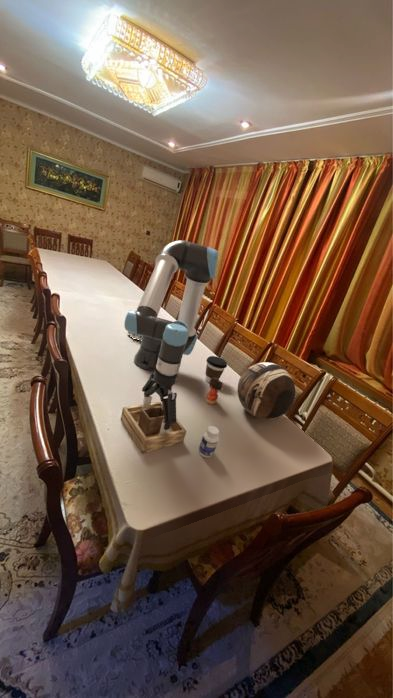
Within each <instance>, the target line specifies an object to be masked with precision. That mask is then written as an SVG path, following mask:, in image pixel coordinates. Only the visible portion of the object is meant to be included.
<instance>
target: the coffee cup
mask: <svg viewBox="0 0 393 698" xmlns="http://www.w3.org/2000/svg"><path fill="white" fill-rule="evenodd" d="M227 367H228V364H227V361H226V360H225V359H224V358H222V357H220V356H214V355H211V356H208V357H207V358H206V368H205V377H204V379H205V381H206V382H208V384H210V380H211V379H212V378H213V377H216V378H218V379H219V380H220V379H221V376H222V375H223V373H224V371H225V369H226V368H227Z"/></svg>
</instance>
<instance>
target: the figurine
mask: <svg viewBox="0 0 393 698" xmlns="http://www.w3.org/2000/svg"><path fill="white" fill-rule="evenodd" d="M222 389H223V381H221V380H220V378H219V379H218V378H216V377H213V378H212V379H211V380H210V383H209V392H208V393H207V395H206V398H204V400H203V401H204V402H205V403H207V404H210V405H214V404H217V401H218V399H219V394H218V393H219V391H221V390H222Z"/></svg>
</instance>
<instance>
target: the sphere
mask: <svg viewBox="0 0 393 698" xmlns="http://www.w3.org/2000/svg"><path fill="white" fill-rule="evenodd" d="M237 395H238V396H237V397H238V399H239V403H240V404H241V406H242V408H243V409H244V410H245V411H246V412H248V414H250V415H251V416H253V417H255V418H257V419H262V420H273V419H277V418H280V417H282V416H283V415H285V414H286V413H288V411H289V410H290V409H291V407H292V406H293V405H294V402H295V398H296V386H295V382H294V379H293V377H292V376H291V374H290V373H289V372H288V371H287V370H286V369H285V368H283V367H282V366H281V365H279V364H276V363H274V362H267V361H266V362H257V363H254V364H252V365H251V366H249V367H248V368H246V370H245V371H244V372H243V373H242V374H241V376H240V378H239V380H238V384H237Z"/></svg>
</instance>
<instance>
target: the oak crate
mask: <svg viewBox="0 0 393 698" xmlns="http://www.w3.org/2000/svg"><path fill="white" fill-rule="evenodd" d="M142 406H143V403H142V404H138V405H130V406H124V407H122V411H121V416H120V420H121V421H122V424H123V425H124V426H125V428H126V430H127V431H128V432H129V434H130V436H131V437H132V439H133V440H134V442H135V444H136V446H137V447H138V449H139V450H140V452H141V453H142V454H145V453H149V452H152V451H155V450H159V449H163V448H166V447H171V446H173V445H178V444H180V443H181V444H182V443H184V440H185V438H186V434H187V429H186V428H185V427H184V426H183V425H182V423H181V422H180V421H179V420H178V419H177V418H176V423H172V424H171V425H170V428H169V430H168V432H167V433H166V434H162V435H159V433H157V434H153V435H149V436H145V435H144V433H143V432H142V430H141V429H140V427H139V426H138V422H139V418H140V413H141V409H142ZM157 406H162V407H163V404H162V401H161V400H160V401H155V402H151V404H150V408H151V407H157Z"/></svg>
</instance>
